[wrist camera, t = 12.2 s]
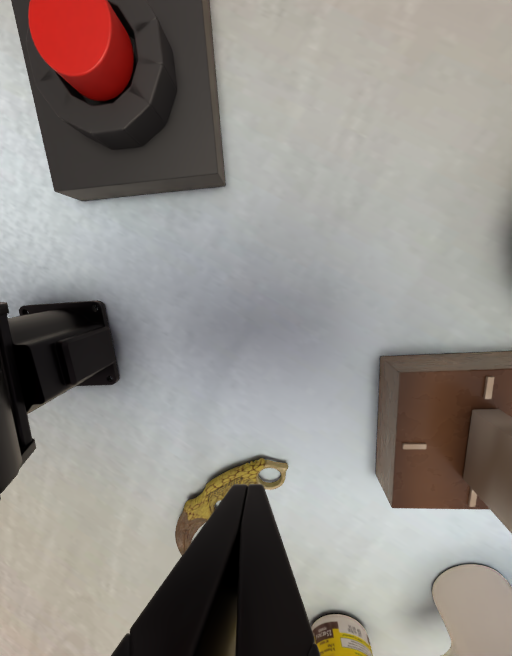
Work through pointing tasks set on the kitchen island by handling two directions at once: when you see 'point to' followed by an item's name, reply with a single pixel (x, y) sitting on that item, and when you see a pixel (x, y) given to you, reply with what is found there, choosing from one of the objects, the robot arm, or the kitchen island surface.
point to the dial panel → (434, 424)
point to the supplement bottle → (340, 636)
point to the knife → (221, 496)
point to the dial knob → (491, 461)
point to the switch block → (135, 108)
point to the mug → (475, 610)
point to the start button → (83, 45)
